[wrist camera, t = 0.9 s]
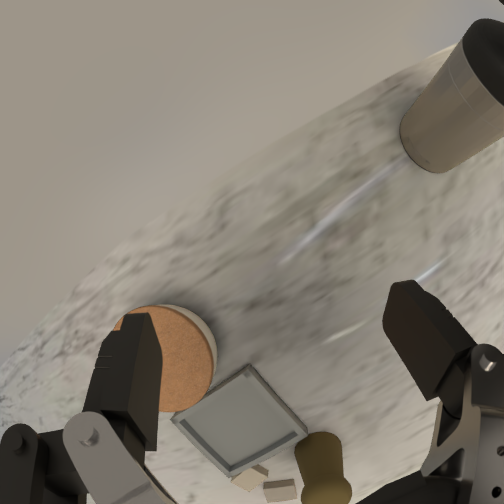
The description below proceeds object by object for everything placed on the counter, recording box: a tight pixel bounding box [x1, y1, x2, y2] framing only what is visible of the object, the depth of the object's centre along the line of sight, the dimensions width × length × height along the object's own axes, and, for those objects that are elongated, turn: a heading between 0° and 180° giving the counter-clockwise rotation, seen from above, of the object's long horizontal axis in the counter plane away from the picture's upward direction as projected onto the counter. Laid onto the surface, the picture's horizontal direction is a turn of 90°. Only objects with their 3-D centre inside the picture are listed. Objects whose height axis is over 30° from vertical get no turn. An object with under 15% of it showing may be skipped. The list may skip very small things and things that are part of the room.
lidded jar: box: [113, 305, 218, 412], centre depth 28 cm, size 11×11×9 cm
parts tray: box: [170, 364, 308, 478], centre depth 31 cm, size 12×11×2 cm
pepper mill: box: [294, 432, 352, 504], centre depth 25 cm, size 6×6×11 cm
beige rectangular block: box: [263, 479, 297, 503], centre depth 30 cm, size 4×3×2 cm
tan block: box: [231, 464, 268, 492], centre depth 31 cm, size 4×3×2 cm
